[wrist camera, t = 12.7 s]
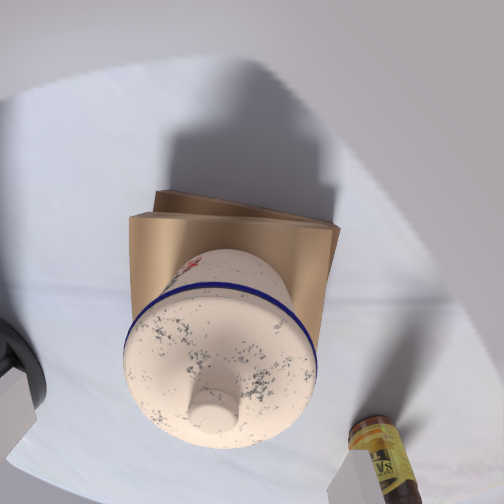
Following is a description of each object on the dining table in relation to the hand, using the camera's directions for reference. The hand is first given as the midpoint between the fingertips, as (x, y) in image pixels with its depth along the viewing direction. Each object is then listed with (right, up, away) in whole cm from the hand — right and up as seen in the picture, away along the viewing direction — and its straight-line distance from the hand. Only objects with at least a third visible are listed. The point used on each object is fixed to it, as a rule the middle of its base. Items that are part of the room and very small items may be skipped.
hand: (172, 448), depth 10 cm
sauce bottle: (+17, -15, +23) cm, 32 cm away
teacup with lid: (+1, +2, +13) cm, 13 cm away
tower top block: (+1, +3, +17) cm, 17 cm away
